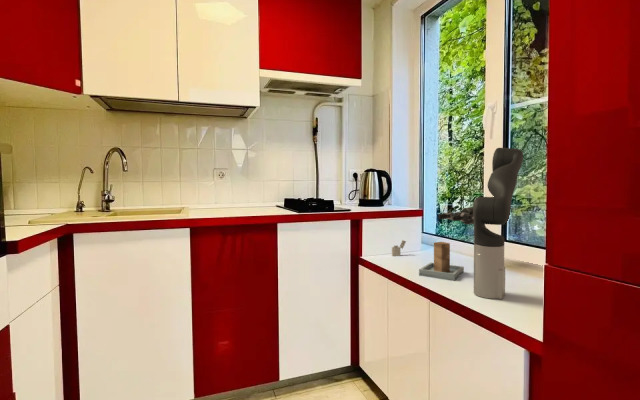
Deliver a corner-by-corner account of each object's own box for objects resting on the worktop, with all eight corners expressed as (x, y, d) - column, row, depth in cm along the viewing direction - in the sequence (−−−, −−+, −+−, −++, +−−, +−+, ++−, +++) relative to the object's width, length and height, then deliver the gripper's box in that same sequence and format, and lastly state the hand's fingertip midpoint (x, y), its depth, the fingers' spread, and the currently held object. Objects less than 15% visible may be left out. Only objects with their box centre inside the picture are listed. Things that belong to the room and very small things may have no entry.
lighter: (392, 256, 178) (392, 240, 178) (391, 255, 180) (391, 240, 180) (406, 255, 179) (406, 240, 179) (404, 254, 181) (404, 239, 180)
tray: (463, 272, 145) (463, 266, 145) (454, 280, 134) (454, 274, 134) (430, 268, 154) (430, 262, 154) (419, 275, 143) (419, 269, 142)
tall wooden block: (442, 269, 147) (442, 241, 146) (449, 272, 143) (449, 243, 142) (433, 270, 145) (433, 242, 144) (441, 273, 141) (441, 244, 140)
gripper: (461, 206, 165) (434, 208, 158) (486, 208, 152) (458, 210, 145) (461, 222, 165) (434, 224, 159) (486, 225, 152) (458, 227, 146)
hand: (445, 217), depth 152 cm, fingers open, 8 cm apart
